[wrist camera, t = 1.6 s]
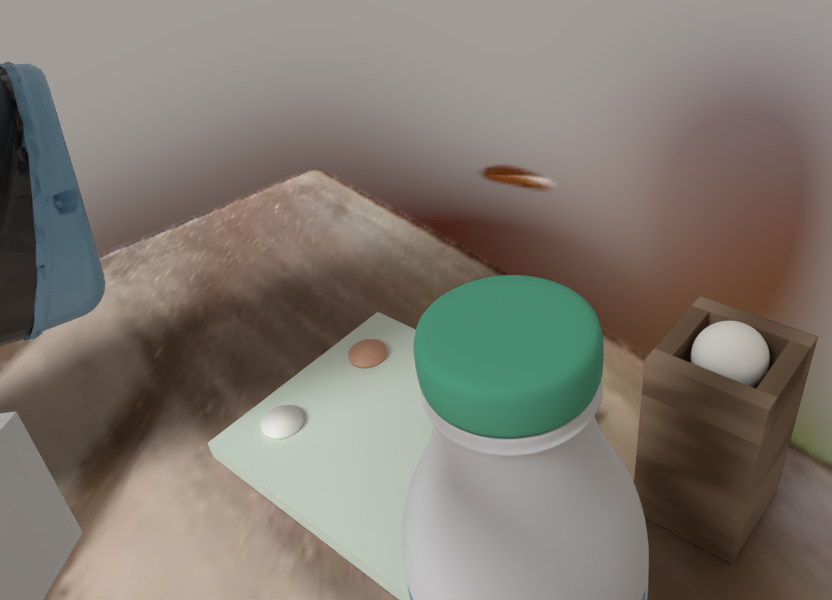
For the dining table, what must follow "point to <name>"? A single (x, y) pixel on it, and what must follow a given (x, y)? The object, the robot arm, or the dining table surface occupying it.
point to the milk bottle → (518, 454)
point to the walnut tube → (716, 432)
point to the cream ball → (732, 352)
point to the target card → (341, 446)
